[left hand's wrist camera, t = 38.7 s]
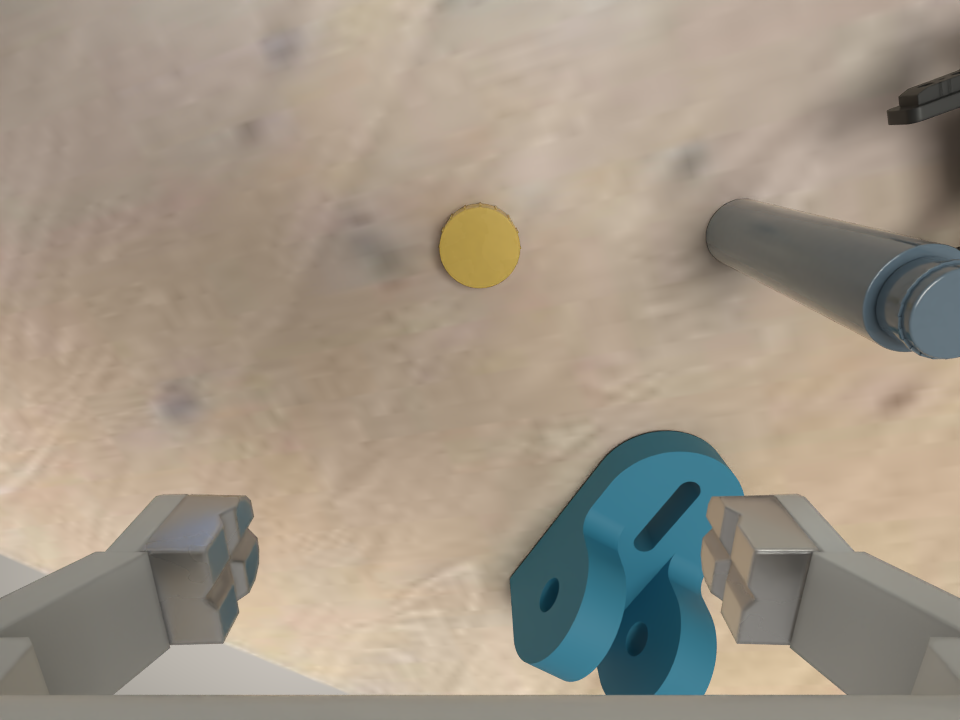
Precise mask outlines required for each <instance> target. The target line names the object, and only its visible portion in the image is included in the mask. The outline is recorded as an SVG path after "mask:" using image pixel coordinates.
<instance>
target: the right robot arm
mask: <svg viewBox="0 0 960 720" xmlns="http://www.w3.org/2000/svg"><path fill="white" fill-rule="evenodd" d="M959 107H960V70H958V71H956V72H953V73H950V74H948V75H945V76H942V77H939V78H937V79H934V80H931V81H929V82H926V83H923V84H921V85H918V86H915V87H912V88H910V89H908V90H906V91H905V92H904V93H903V94H901V95H900V96H899V106H897V107H894V108H891V109H889V110H887V116H888V124H889V125H903V124H912V123H916V122H920V121H923V120H926V119H929V118H931V117H934V116H937V115H940V114H942V113H945V112H948V111H951V110H954V109H956V108H959ZM956 249H958V250H959V251H960V247H957V248H956Z"/></svg>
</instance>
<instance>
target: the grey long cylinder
mask: <svg viewBox="0 0 960 720" xmlns="http://www.w3.org/2000/svg"><path fill="white" fill-rule="evenodd" d="M706 242H707V246H708V249H709V251H710V253H711V254H712V255H713V257H714V258H715V259H717V260H718V261H720V262H722V263H724V264H725V265H727V266H729V267H731V268H733V269H735V270H737V271H739V272H741V273H743V274H745V275H746V276H748V277H750V278H752V279H754V280H756V281H758V282H760V283H762V284H764V285H766V286H768V287H769V288H771V289H773V290H775V291H777V292H779V293H781V294H783V295H785V296H787V297H789V298H790V299H792V300H794V301H796V302H798V303H800V304H802V305H804V306H806V307H808V308H810V309H811V310H813V311H815V312H817V313H819V314H821V315H823V316H825V317H827V318H829V319H831V320H833V321H834V322H836V323H838V324H840V325H842V326H844V327H846V328H848V329H850V330H852V331H854V332H855V333H857V334H859V335H861V336H863V337H865V338H867V339H869V340H871V341H873V342H875V343H876V344H878V345H880V346H882V347H884V348H886V349H889V350H893V351H898V352H912V351H913V352H914V353H916V354H918V355H920V356H923V357H927V358H931V359H950V358H957V357H960V251H959V250H958V249H956V248H954V247H951V246H949V245H944V244H940V243H936V242H932V241H927V240H923V239H919V238H914V237H910V236H906V235H902V234H897V233H893V232H889V231H884V230H880V229H876V228H872V227H867V226H863V225H859V224H854V223H850V222H846V221H842V220H837V219H833V218H829V217H824V216H820V215H816V214H812V213H807V212H803V211H799V210H794V209H790V208H786V207H782V206H777V205H773V204H769V203H764V202H760V201H756V200H751V199H738V200H734V201H731V202H729V203H727V204H725V205H724V206H722V207H721V208H720V209H719V210H718V211H717V212H716V213H715V214H714V215H713V217H712V219H711V220H710V222H709V225H708V228H707V232H706Z"/></svg>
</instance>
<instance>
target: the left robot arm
mask: <svg viewBox="0 0 960 720" xmlns="http://www.w3.org/2000/svg"><path fill="white" fill-rule="evenodd" d="M253 517H254V514H253V509H252V504H251V500H250V499H249V498H248V497H247V496H242V495H193V494H191V495H188V494H163V495H159V496H156V497H155V498H154V499H153V500H152V501H151V502H150V503H149V504H148V505H147V507H146V508H145V509H144V510H143V511H142V512H141V513H140V514H139V515H138V516H137V517H136V519H135V520H134V521H133V522H132V523H131V524H130V525H129V526H128V527H127V528H126V529H125V531H124V532H123V533H122V534H121V535H120V536H119V537H118V538H117V539H116V540H115V542H114V543H113V544H112V545H111V546H110V547H109V548H108V549H107V550H106V551H105V552H94V553H92V554H90V555H88V556H86V557H84V558H82V559H80V560H78V561H76V562H74V563H72V564H70V565H68V566H65V567H63V568H61V569H59V570H57V571H55V572H53V573H51V574H49V575H47V576H45V577H43V578H41V579H39V580H37V581H35V582H33V583H30V584H28V585H26V586H24V587H22V588H20V589H18V590H16V591H14V592H12V593H10V594H8V595H6V596H4V597H1V598H0V720H960V598H958V597H956V596H954V595H952V594H950V593H948V592H946V591H944V590H942V589H940V588H938V587H936V586H934V585H932V584H929V583H927V582H925V581H923V580H921V579H919V578H917V577H915V576H913V575H911V574H909V573H907V572H905V571H903V570H901V569H899V568H897V567H894V566H892V565H890V564H888V563H886V562H884V561H882V560H880V559H878V558H876V557H874V556H872V555H870V554H868V553H866V552H855V551H854V550H853V549H852V548H851V547H850V546H849V545H848V544H847V543H846V542H845V540H844V539H843V538H842V537H841V536H840V535H839V534H838V533H837V532H836V531H835V529H834V528H833V527H832V526H831V525H830V524H829V523H828V522H827V521H826V520H825V519H824V517H823V516H822V515H821V514H820V513H819V512H818V511H817V510H816V509H815V508H814V506H813V505H812V504H811V503H810V502H809V501H808V500H807V499H806V498H805V497H804V496H801V495H799V494H781V495H759V496H712V497H711V499H710V501H709V503H708V508H707V513H706V517H707V519H708V521H709V523H710V524H711V526H712V529H711V530H710V531H709V532H708V533H707V534H706V535H705V536H704V537H703V538H702V547H701V564H702V571H703V575H704V578H705V582H706V584H707V586H708V588H709V590H710V592H711V593H712V594H713V595H715V596H716V597H718V598H719V599H721V600H722V601H723V602H722V608H721V614H722V616H723V618H724V620H725V622H726V623H727V625H728V627H729V629H730V631H731V633H732V635H733V637H734V639H735V641H736V643H737V644H771V645H790V648H791V649H792V650H793V651H795V652H796V653H797V654H798V655H799V656H801V657H802V658H803V659H804V660H806V661H807V662H808V663H809V664H810V665H812V666H813V667H814V668H815V669H816V670H818V671H819V672H820V673H821V674H822V675H824V676H825V677H826V678H827V679H829V680H830V681H831V682H832V683H833V684H835V685H836V686H837V687H838V688H839V689H841V690H842V691H843V692H844V693H845V694H847V695H113V694H115V693H116V692H117V691H118V690H120V689H121V688H122V687H123V686H124V685H125V684H127V683H128V682H129V681H130V680H132V679H133V678H134V677H135V676H136V675H138V674H139V673H140V672H141V671H143V670H144V669H145V668H146V667H147V666H149V665H150V664H151V663H152V662H153V661H155V660H156V659H157V658H158V657H160V656H161V655H162V654H163V653H164V652H166V651H167V650H168V649H169V648H170V645H189V644H223V643H224V641H225V639H226V637H227V635H228V633H229V631H230V629H231V627H232V625H233V623H234V622H235V620H236V618H237V616H238V614H239V608H238V602H237V601H238V600H239V599H241V598H242V597H244V596H245V595H247V594H248V593H249V592H250V590H251V588H252V586H253V584H254V582H255V579H256V574H257V570H258V565H259V545H258V538H257V537H256V536H255V535H254V534H253V533H252V532H251V531H250V530H249V529H248V526H249V524H250V523H251V521H252V519H253Z"/></svg>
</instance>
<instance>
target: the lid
mask: <svg viewBox="0 0 960 720" xmlns="http://www.w3.org/2000/svg"><path fill="white" fill-rule="evenodd" d="M441 232H442V235H441V239H440V244H439V251H440V257H441V261H442V263H443V266H444V267H445V269H446V271H447V272H448V273H449V275H450V276H451V277H452V278H453V279H455V280H456V281H457V282H459V283H461V284H463V285H465V286H468V287H472V288H487V287H491V286H494V285H497V284H499V283H500V282H502V281H503V280H505V279H506V278H507V277H508V276H509V275H510V274H511V273H512V271H513V270H514V268H515V266H516V264H517V262H518V259H519V254H520V249H521V246H520V241H519V237H518V234H517V233H518V230H517V228H515V226H514V224H513V222H512V221H511V219H510V217H509V215H506V214H505V213H504V212H503V211H502V210H500V209H498V208H497V206H495V207H494V206H491V205H488V204H481V202H479V204H472V205H468V206H466V205H464V207H463V208H461V209H459V210H458V211H457V212H455V213H454V214H451V217H450V219H449V220H448V221H447V223H446V225H445V227H443V229H442V231H441Z"/></svg>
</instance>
